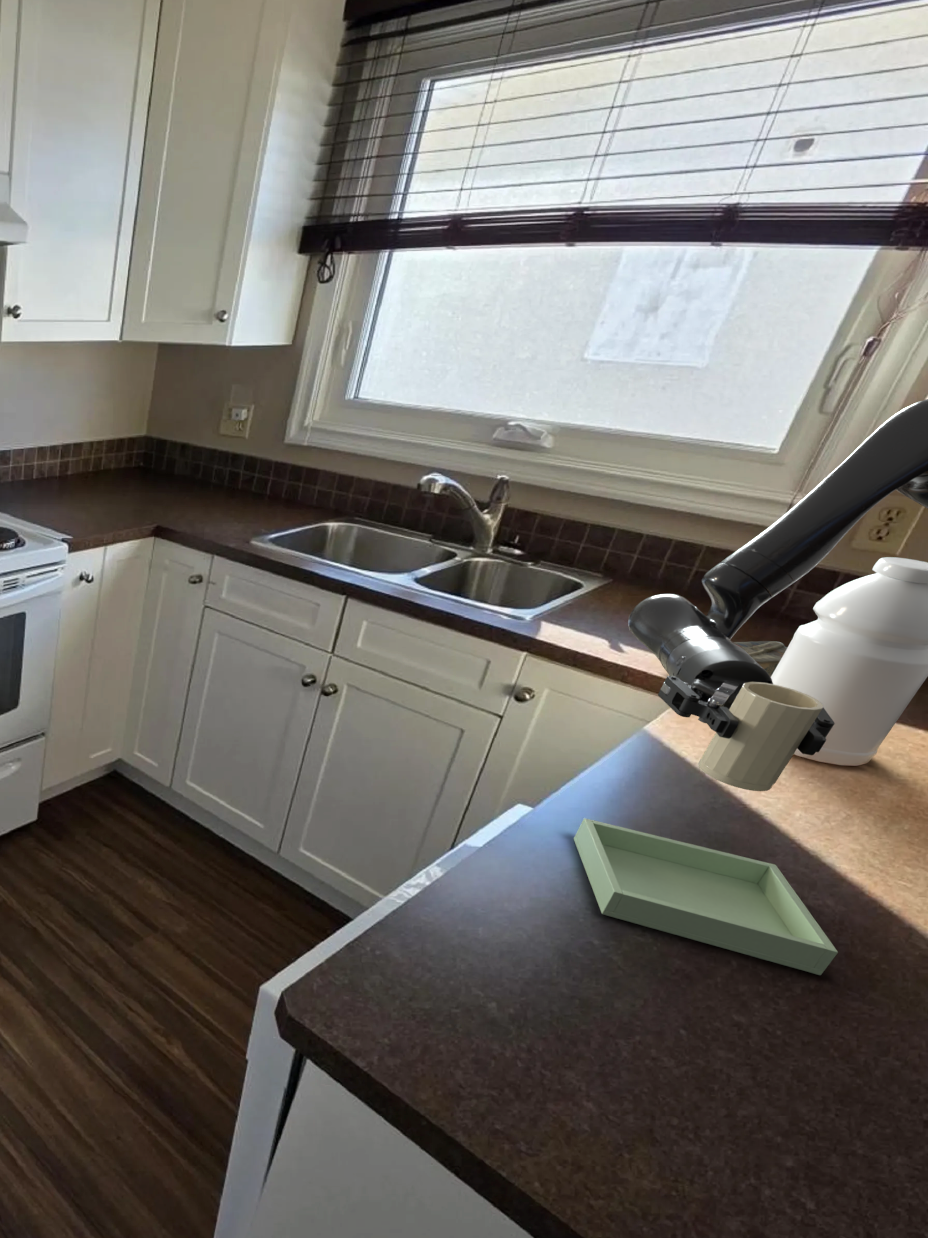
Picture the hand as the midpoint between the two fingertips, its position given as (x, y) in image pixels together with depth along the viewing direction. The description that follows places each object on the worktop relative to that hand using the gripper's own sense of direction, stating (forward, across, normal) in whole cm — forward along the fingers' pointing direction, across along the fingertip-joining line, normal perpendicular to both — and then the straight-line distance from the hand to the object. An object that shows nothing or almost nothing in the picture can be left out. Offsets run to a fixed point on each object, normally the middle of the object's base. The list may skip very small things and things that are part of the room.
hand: (770, 738), depth 83 cm
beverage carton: (-70, -24, -18) cm, 76 cm away
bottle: (-48, -26, -18) cm, 57 cm away
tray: (+6, +2, -18) cm, 19 cm away
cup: (-2, 0, -6) cm, 6 cm away
